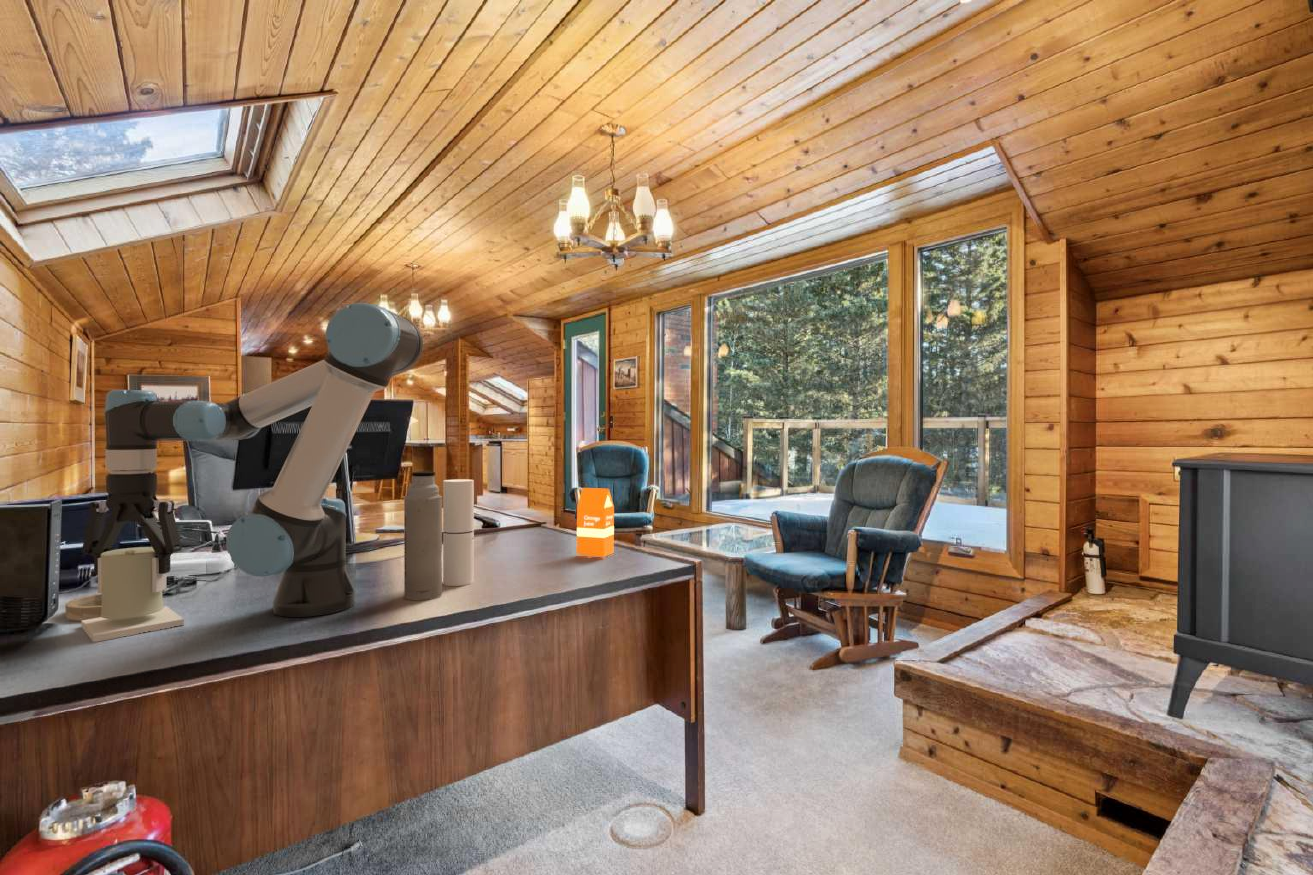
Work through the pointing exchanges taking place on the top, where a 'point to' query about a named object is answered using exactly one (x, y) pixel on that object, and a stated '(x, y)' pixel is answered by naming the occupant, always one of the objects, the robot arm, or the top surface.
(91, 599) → the collar
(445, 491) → the cylindrical container
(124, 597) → the can
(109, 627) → the beige base plate
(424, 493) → the thermos bottle
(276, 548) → the robot arm
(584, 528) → the orange juice
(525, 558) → the top surface
